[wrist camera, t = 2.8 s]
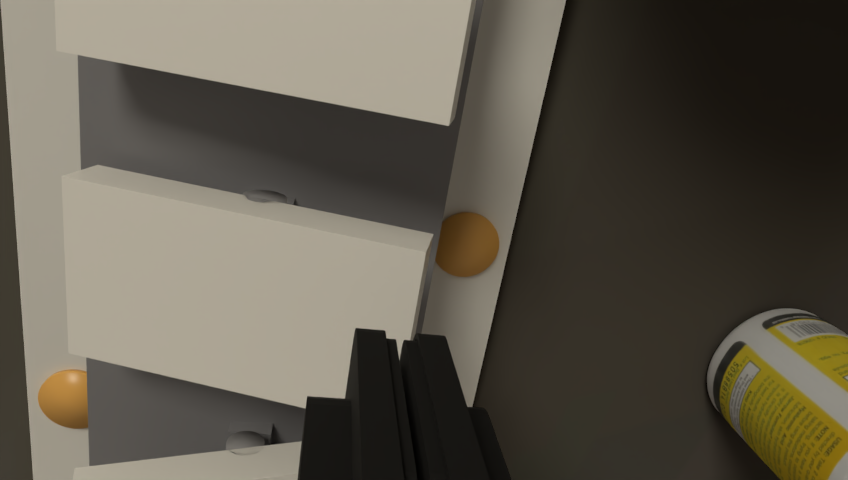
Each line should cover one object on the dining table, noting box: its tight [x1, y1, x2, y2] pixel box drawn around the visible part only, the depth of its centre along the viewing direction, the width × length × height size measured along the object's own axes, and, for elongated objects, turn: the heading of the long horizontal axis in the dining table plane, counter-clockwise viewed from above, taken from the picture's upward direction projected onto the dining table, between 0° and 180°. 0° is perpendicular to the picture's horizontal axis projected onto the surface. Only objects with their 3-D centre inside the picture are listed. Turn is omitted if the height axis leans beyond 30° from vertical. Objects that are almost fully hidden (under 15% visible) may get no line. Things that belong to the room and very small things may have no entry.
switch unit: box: [1, 0, 566, 480], centre depth 18 cm, size 15×22×4 cm
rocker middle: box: [61, 165, 433, 408], centre depth 14 cm, size 8×4×2 cm, turn 80°
